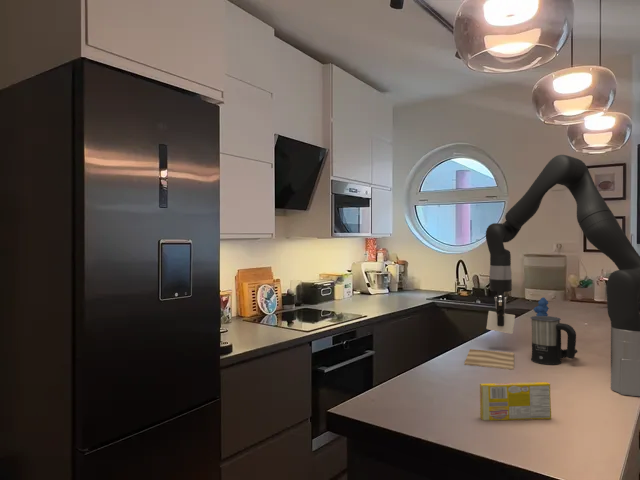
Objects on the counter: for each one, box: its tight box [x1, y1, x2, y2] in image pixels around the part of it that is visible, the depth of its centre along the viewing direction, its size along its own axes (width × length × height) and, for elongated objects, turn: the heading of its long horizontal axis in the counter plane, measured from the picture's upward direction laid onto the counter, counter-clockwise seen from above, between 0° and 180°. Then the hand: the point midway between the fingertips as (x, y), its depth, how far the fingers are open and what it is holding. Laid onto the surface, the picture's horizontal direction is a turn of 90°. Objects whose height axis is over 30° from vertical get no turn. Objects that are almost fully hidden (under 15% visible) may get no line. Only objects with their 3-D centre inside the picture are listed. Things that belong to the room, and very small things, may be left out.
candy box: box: [479, 381, 552, 421], centre depth 109 cm, size 16×2×8 cm, turn 92°
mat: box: [464, 348, 515, 370], centre depth 161 cm, size 20×15×1 cm
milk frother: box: [530, 315, 578, 365], centre depth 160 cm, size 14×16×15 cm
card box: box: [486, 310, 516, 335], centre depth 171 cm, size 3×9×6 cm, turn 67°
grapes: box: [533, 296, 550, 316], centre depth 228 cm, size 12×7×12 cm, turn 138°
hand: (500, 325), depth 171 cm, fingers closed on card box, 2 cm apart
